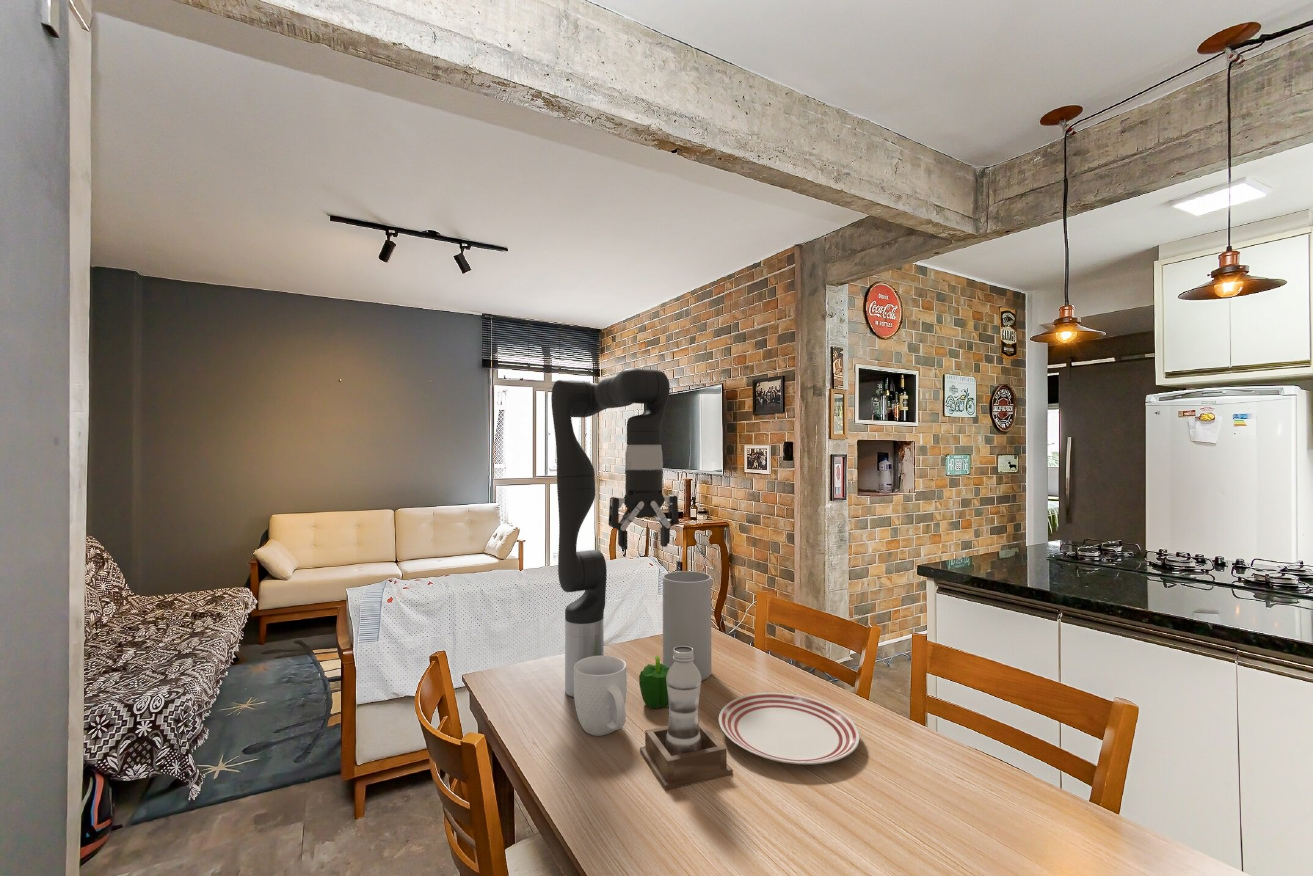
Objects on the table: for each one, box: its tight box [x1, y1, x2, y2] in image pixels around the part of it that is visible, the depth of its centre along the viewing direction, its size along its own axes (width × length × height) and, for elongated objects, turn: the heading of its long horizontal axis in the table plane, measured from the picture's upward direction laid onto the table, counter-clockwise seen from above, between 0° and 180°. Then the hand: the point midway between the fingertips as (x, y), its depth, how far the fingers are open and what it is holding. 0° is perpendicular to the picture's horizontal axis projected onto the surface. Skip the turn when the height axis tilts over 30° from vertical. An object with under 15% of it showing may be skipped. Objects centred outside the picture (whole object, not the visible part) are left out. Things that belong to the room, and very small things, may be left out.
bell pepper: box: [638, 655, 670, 709], centre depth 128 cm, size 8×8×10 cm
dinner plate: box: [718, 692, 860, 765], centre depth 113 cm, size 28×27×3 cm
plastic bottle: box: [665, 646, 702, 756], centre depth 104 cm, size 6×7×20 cm
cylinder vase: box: [662, 570, 712, 682], centre depth 145 cm, size 12×12×25 cm
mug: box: [573, 655, 628, 737], centre depth 115 cm, size 15×11×13 cm
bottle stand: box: [639, 719, 734, 791], centre depth 104 cm, size 13×13×4 cm
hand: (644, 547), depth 113 cm, fingers open, 8 cm apart
